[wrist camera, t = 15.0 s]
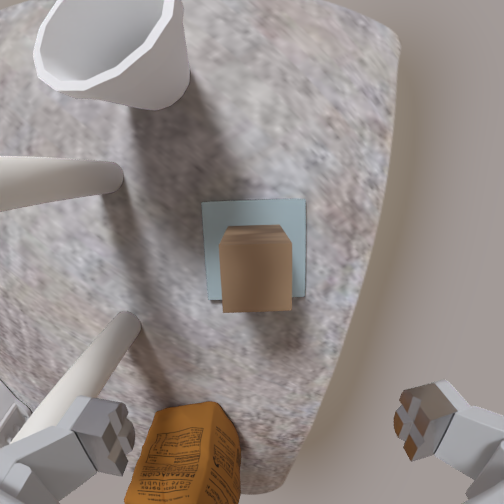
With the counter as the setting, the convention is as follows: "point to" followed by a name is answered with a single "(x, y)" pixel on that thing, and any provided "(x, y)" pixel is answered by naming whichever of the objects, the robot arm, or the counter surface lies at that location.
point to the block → (256, 269)
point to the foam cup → (115, 51)
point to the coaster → (254, 213)
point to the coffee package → (188, 458)
